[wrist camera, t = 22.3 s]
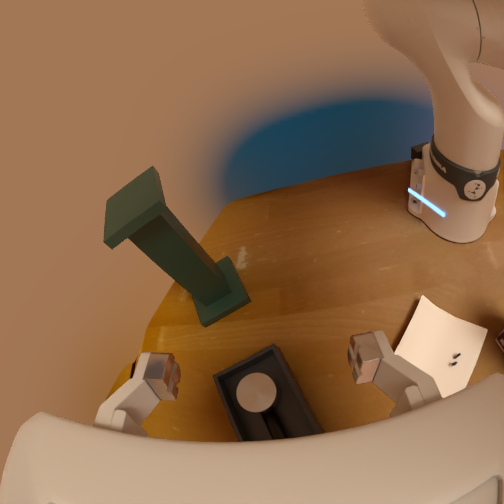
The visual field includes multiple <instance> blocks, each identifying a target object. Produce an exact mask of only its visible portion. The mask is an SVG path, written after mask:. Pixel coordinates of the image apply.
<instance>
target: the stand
mask: <svg viewBox="0 0 504 504" xmlns="http://www.w3.org/2000/svg"><path fill="white" fill-rule="evenodd" d="M127 238H129V239H130V240H131V241H132V242H133V243H134V244H135V245H136V246H137V247H138V248H139V249H140V250H141V251H143V252H144V253H145V254H146V255H147V256H148V257H149V258H150V259H151V260H152V261H154V262H155V263H156V264H157V265H158V266H159V267H160V268H161V269H163V270H164V271H165V272H166V273H167V274H168V275H169V276H171V277H172V278H173V279H174V280H175V281H176V282H178V283H179V284H180V285H181V286H182V287H183V288H185V289H186V290H187V291H188V292H189V293H191V295H192V298H193V301H194V304H195V307H196V310H197V313H198V316H199V319H200V322H201V325H203V326H204V327H207V326H209V325H211V324H213V323H214V322H216V321H218V320H220V319H221V318H223V317H225V316H227V315H228V314H230V313H232V312H234V311H235V310H237V309H239V308H241V307H242V306H244V305H246V304H247V303H249V302H251V300H250V298H249V296H248V294H247V292H246V290H245V288H244V286H243V284H242V282H241V280H240V278H239V275H238V273H237V271H236V269H235V267H234V265H233V263H232V261H231V259H230V258H229V257H228V256H227V257H225V258H223V259H222V260H220V261H218V262H217V263H215V262H214V261H213V260H212V259H211V257H210V256H209V255H208V254H207V253H206V252H205V251H204V249H203V248H202V247H201V246H200V245H199V244H198V243H197V242H196V240H195V239H194V238H193V237H192V236H191V234H190V233H189V232H188V231H187V230H186V229H185V227H184V226H183V225H182V224H181V223H180V221H179V220H178V219H177V218H176V217H175V216H174V214H173V213H172V212H171V211H170V210H169V209H168V207H167V206H166V203H165V199H164V195H163V190H162V186H161V181H160V177H159V173H158V172H157V171H156V169H155V168H154V167H153V166H152V167H150V168H149V169H148V170H146V171H145V172H144V173H142V174H141V175H139V176H138V177H137V178H135V179H134V180H133V181H131V182H130V183H128V184H127V185H126V186H124V187H123V188H122V189H121V190H119V191H118V192H117V193H116V194H114V195H113V196H112V197H110V198H109V199H108V200H107V203H106V214H105V226H104V243H105V244H106V245H107V246H109V247H110V248H111V249H113V248H115V247H116V246H117V245H119V244H120V243H121V242H123V241H124V240H125V239H127Z"/></svg>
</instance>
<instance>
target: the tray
mask: <svg viewBox="0 0 504 504" xmlns="http://www.w3.org/2000/svg"><path fill="white" fill-rule="evenodd" d="M252 373H263V374H266V375H268V376H270V377H272V378H273V379H275V380H276V381H277V382H278V384H279V386H280V388H281V398H280V401H279V403H278V405H277V406H276V407H275V410H276V412H277V415H278V417H279V419H280V421H281V423H282V425H283V427H284V429H285V431H286V433H287V435H288V437H289V438H296V437H304V436H311V435H317V434H323V433H324V431H323V429H322V428H321V426H320V424H319V422H318V420H317V418H316V416H315V415H314V413H313V411H312V409H311V407H310V405H309V403H308V402H307V400H306V398H305V396H304V394H303V392H302V390H301V389H300V387H299V385H298V383H297V381H296V379H295V377H294V375H293V373H292V371H291V370H290V368H289V366H288V364H287V362H286V360H285V358H284V356H283V354H282V352H281V350H280V349H279V348H278V347H277V346H276V345H275V344H272V345H270V346H269V347H267V348H265V349H263V350H261V351H260V352H258V353H256V354H254V355H252V356H250V357H248V358H246V359H244V360H243V361H241V362H239V363H237V364H235V365H233V366H231V367H229V368H227V369H225V370H223V371H221V372H219V373H217V374H215V375H213V379H214V381H215V384H216V386H217V389H218V392H219V394H220V397H221V399H222V402H223V404H224V407H225V409H226V412H227V414H228V417H229V419H230V422H231V424H232V426H233V429H234V431H235V433H236V436H237V438H238V440H239V442H247V441H266V440H273V439H272V437H271V435H270V433H269V431H268V429H267V427H266V425H265V422H264V420H263V418H262V416H261V413H257V412H250V411H247V410H246V409H244V408H243V407H242V406H241V405H240V404H239V402H238V399H237V394H236V393H237V387H238V385H239V383H240V381H241V380H242V379H243V378H244V377H245V376H247V375H249V374H252Z"/></svg>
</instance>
